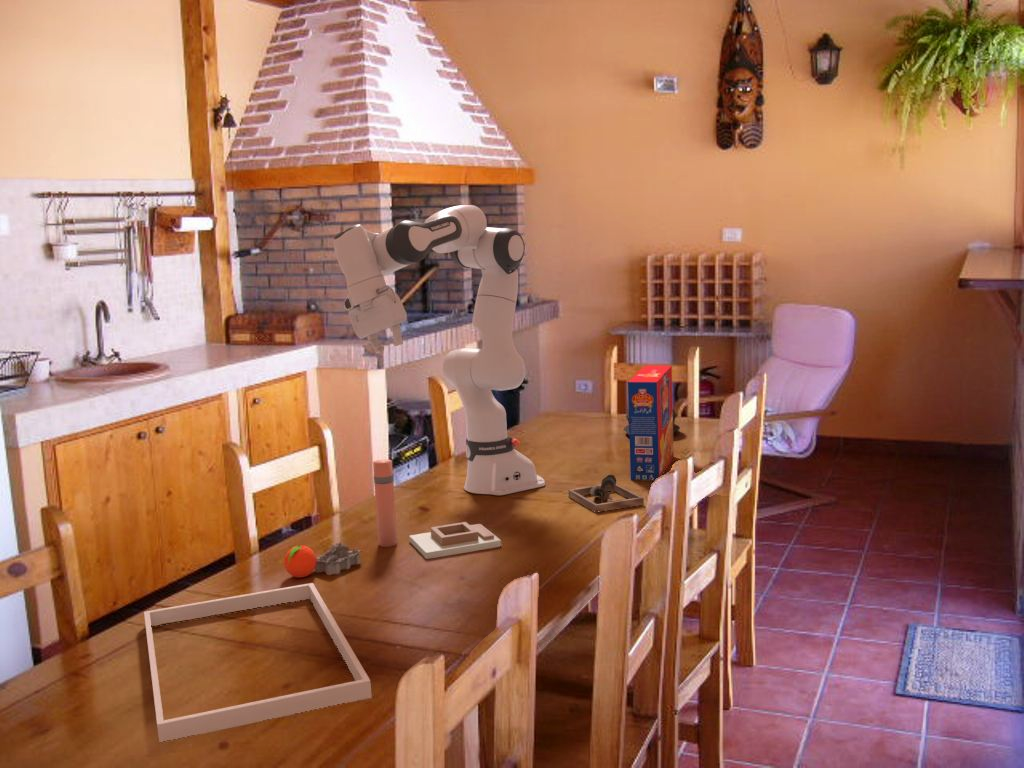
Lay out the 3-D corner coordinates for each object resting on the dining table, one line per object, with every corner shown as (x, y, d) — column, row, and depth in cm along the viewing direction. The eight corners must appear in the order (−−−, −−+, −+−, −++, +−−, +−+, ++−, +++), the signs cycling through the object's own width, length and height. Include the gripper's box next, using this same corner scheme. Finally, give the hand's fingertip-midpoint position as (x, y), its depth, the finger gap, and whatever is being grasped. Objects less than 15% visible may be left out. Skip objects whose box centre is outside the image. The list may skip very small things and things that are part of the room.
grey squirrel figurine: (623, 500, 272) (623, 485, 280) (608, 480, 270) (607, 465, 279) (599, 515, 274) (599, 499, 282) (583, 495, 272) (584, 480, 281)
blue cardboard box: (659, 481, 293) (656, 382, 288) (630, 480, 295) (627, 382, 291) (673, 456, 319) (671, 365, 315) (647, 456, 322) (644, 365, 317)
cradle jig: (481, 530, 257) (480, 516, 256) (501, 546, 244) (500, 531, 243) (409, 541, 251) (408, 527, 250) (426, 559, 238) (425, 544, 237)
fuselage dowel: (394, 539, 253) (389, 458, 249) (399, 545, 249) (394, 462, 245) (376, 542, 251) (370, 460, 248) (381, 548, 247) (375, 465, 244)
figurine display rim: (614, 489, 286) (614, 482, 286) (643, 505, 271) (643, 497, 271) (568, 497, 282) (568, 489, 281) (595, 513, 266) (595, 505, 266)
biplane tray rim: (313, 596, 218) (312, 582, 218) (371, 697, 172) (370, 680, 172) (145, 626, 207) (143, 611, 206) (159, 743, 161) (157, 724, 160)
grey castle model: (342, 557, 242) (341, 540, 242) (366, 563, 238) (365, 545, 237) (308, 571, 234) (307, 554, 233) (332, 577, 230) (331, 559, 229)
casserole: (631, 425, 366) (630, 401, 364) (685, 426, 360) (684, 402, 359) (616, 442, 342) (615, 416, 341) (674, 443, 337) (673, 417, 335)
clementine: (304, 585, 225) (301, 553, 224) (276, 582, 227) (273, 551, 226) (323, 572, 232) (321, 541, 231) (296, 570, 235) (293, 539, 234)
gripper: (401, 280, 242) (421, 336, 243) (361, 298, 259) (381, 352, 260) (378, 287, 239) (399, 344, 240) (339, 305, 255) (359, 359, 256)
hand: (389, 348), depth 250 cm, fingers open, 8 cm apart
